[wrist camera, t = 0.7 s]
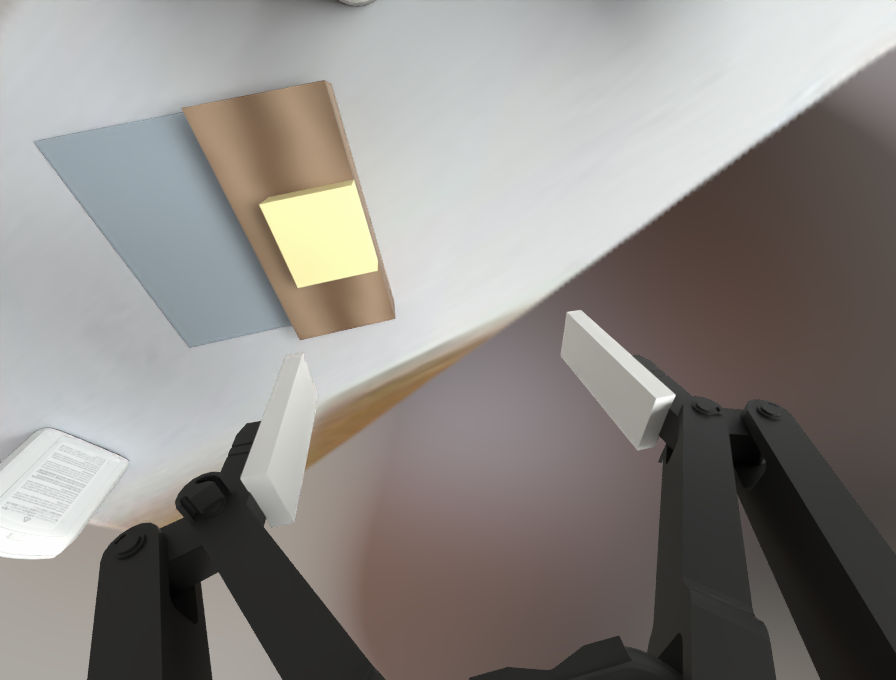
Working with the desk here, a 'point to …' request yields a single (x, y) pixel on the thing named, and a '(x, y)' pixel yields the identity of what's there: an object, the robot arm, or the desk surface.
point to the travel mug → (357, 2)
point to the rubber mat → (170, 225)
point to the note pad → (321, 233)
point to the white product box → (52, 492)
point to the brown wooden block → (284, 171)
